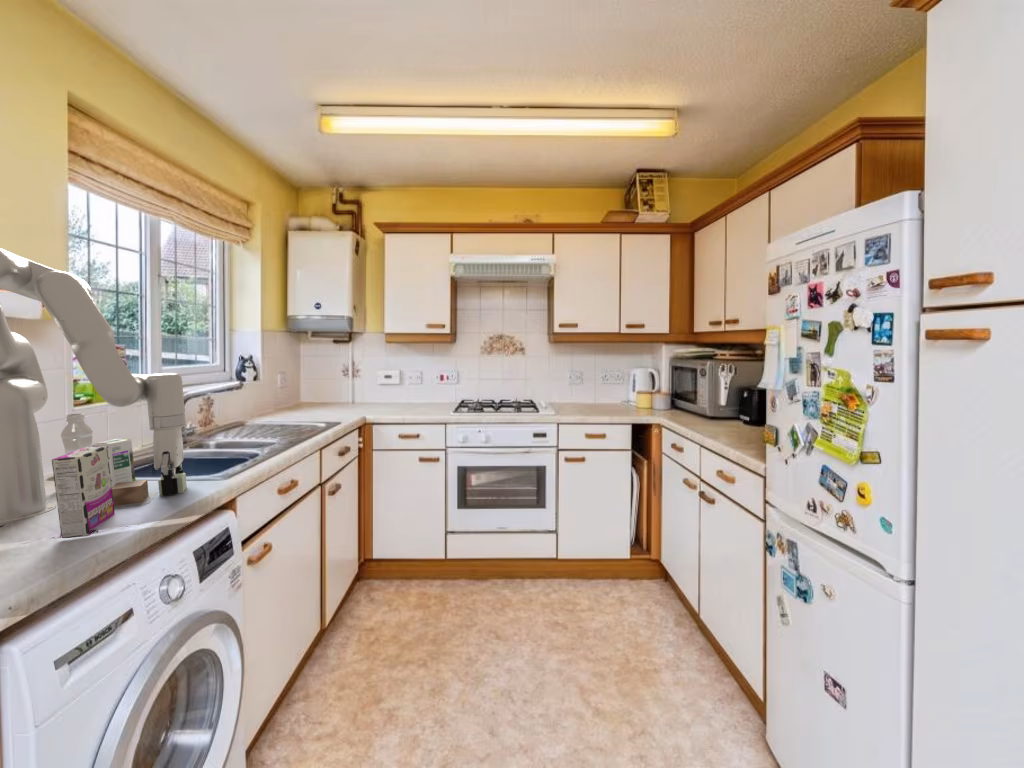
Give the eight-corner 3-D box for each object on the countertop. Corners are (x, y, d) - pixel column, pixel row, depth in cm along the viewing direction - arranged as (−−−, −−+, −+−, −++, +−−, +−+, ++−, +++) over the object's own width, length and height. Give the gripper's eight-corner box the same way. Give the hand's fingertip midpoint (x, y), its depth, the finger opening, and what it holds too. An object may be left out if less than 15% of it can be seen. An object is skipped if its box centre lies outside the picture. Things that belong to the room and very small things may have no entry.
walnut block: (111, 506, 114) (109, 489, 114) (118, 499, 119) (117, 483, 119) (142, 502, 116) (141, 485, 116) (148, 495, 122) (147, 479, 121)
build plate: (100, 514, 112) (100, 509, 111) (113, 501, 120) (113, 497, 120) (148, 507, 115) (148, 503, 115) (158, 496, 124) (157, 492, 124)
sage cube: (159, 499, 122) (158, 480, 121) (164, 494, 126) (162, 475, 126) (183, 496, 124) (182, 477, 123) (187, 491, 128) (185, 472, 128)
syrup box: (115, 500, 121) (110, 443, 120) (96, 499, 123) (90, 442, 121) (137, 493, 127) (132, 438, 126) (118, 492, 128) (113, 438, 127)
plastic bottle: (96, 485, 135) (89, 414, 133) (64, 490, 131) (56, 416, 130) (100, 480, 140) (93, 411, 139) (68, 485, 137) (61, 414, 135)
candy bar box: (89, 520, 108) (81, 447, 106) (116, 517, 109) (109, 445, 108) (58, 539, 97) (49, 458, 96) (88, 536, 98) (80, 456, 97)
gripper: (157, 418, 130) (163, 483, 131) (140, 428, 114) (147, 502, 115) (190, 416, 133) (196, 479, 134) (179, 425, 117) (185, 497, 119)
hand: (173, 489), depth 125 cm, fingers open, 7 cm apart
